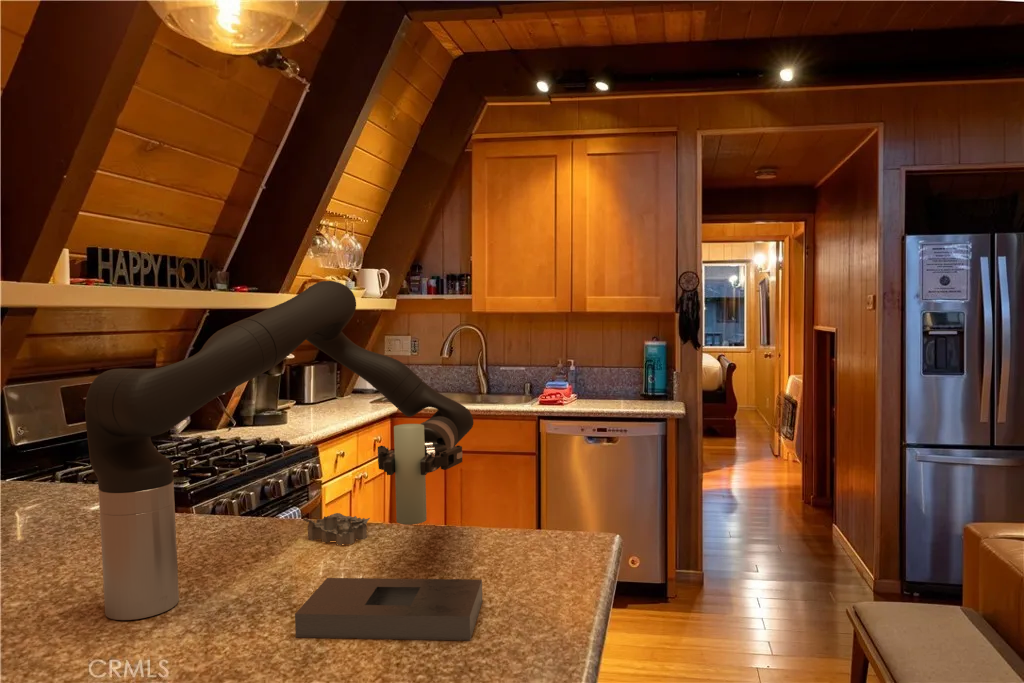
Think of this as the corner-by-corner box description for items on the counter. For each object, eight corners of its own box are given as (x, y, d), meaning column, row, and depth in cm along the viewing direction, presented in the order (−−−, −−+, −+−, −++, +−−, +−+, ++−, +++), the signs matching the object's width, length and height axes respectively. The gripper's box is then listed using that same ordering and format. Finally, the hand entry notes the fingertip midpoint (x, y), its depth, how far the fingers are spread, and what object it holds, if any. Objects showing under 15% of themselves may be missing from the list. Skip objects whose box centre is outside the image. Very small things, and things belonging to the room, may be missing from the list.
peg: (390, 520, 108) (388, 426, 107) (415, 514, 111) (412, 422, 110) (407, 526, 105) (404, 429, 104) (432, 520, 108) (430, 426, 107)
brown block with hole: (295, 637, 91) (294, 614, 91) (327, 598, 103) (327, 577, 103) (470, 640, 89) (469, 616, 89) (482, 600, 101) (481, 579, 101)
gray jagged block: (300, 540, 130) (299, 517, 130) (332, 529, 137) (331, 507, 137) (343, 549, 125) (342, 525, 124) (374, 537, 131) (373, 514, 131)
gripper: (386, 422, 122) (356, 442, 105) (471, 422, 121) (454, 442, 104) (387, 467, 122) (358, 493, 105) (472, 467, 121) (455, 494, 104)
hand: (406, 468), depth 105 cm, fingers closed on peg, 4 cm apart
